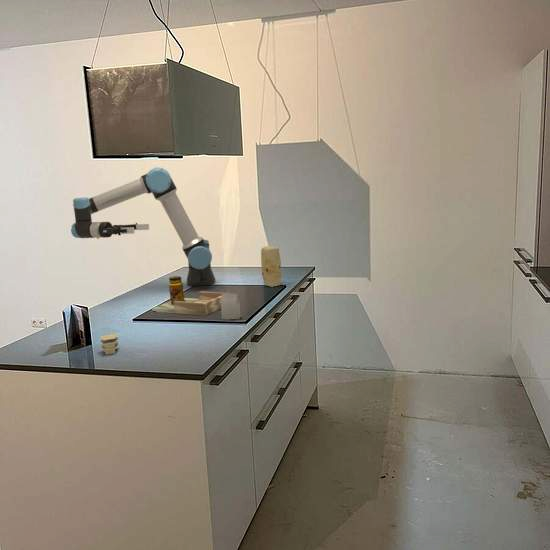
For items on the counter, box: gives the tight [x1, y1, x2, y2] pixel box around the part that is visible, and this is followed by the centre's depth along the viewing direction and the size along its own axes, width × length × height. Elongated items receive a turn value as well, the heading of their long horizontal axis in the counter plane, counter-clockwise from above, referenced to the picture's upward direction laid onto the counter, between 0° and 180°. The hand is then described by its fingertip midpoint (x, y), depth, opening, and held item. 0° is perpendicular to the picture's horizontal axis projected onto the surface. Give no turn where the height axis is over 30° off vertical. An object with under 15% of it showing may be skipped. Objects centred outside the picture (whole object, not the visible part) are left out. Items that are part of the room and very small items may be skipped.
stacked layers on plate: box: [100, 333, 120, 355], centre depth 205 cm, size 10×9×6 cm
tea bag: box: [220, 293, 242, 320], centre depth 238 cm, size 4×7×10 cm, turn 69°
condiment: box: [168, 275, 186, 306], centre depth 264 cm, size 7×8×12 cm
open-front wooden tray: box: [151, 291, 231, 316], centre depth 261 cm, size 20×28×5 cm
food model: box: [260, 245, 283, 288], centre depth 294 cm, size 10×7×20 cm
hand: (141, 228), depth 278 cm, fingers open, 13 cm apart
